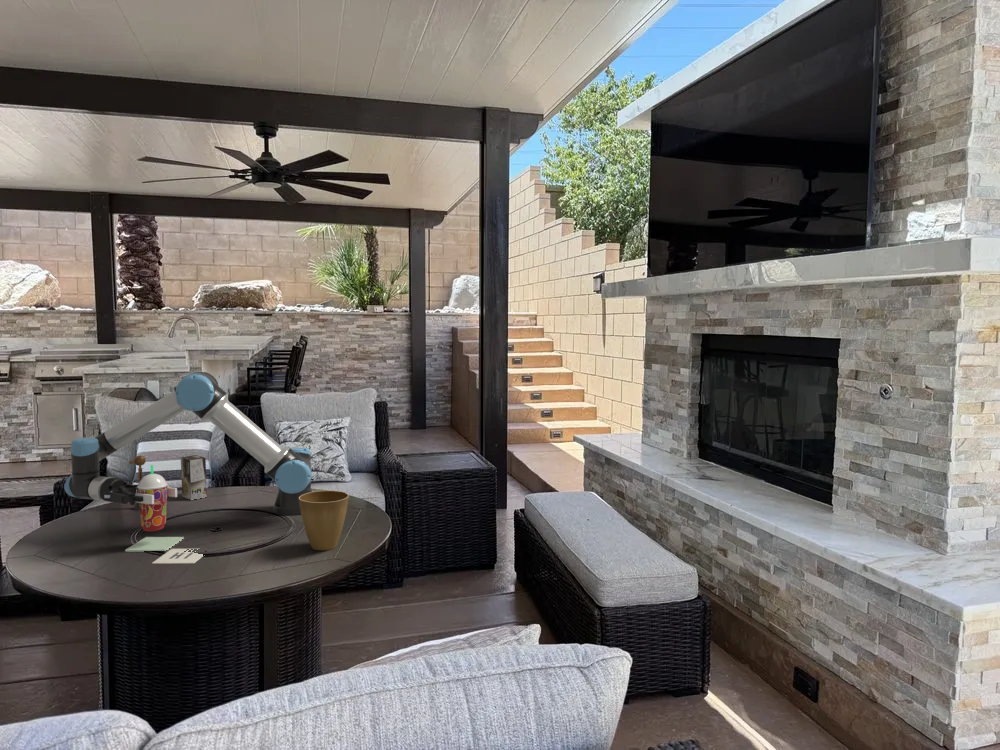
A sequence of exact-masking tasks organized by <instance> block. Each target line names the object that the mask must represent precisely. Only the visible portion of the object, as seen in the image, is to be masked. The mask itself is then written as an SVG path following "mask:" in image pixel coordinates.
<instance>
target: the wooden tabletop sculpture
mask: <svg viewBox="0 0 1000 750" xmlns="http://www.w3.org/2000/svg"><path fill="white" fill-rule="evenodd" d="M146 462H147V459H146V457H145V456H144V455H137V456H136V457H135V458H134V459H132V460H129V461H128V463H129V464H134V465H136V466H138V468H137V470H138V471H137V475H138V483H140V481H141V479H142V478H143V477H144V476H143V469H144V468H143V467H142V466H144V465H145V464H146ZM134 510H135V511H140V509H139V503H137V502H135V504H134Z"/></svg>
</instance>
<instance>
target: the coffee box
mask: <svg viewBox="0 0 1000 750" xmlns="http://www.w3.org/2000/svg"><path fill="white" fill-rule="evenodd" d="M206 460H207V459H206V457H203V456H202V455H201V456H200V455H197V454H195V455H186V456H181V457H180V473H181V475H180V476H181V492H182V493H181V496H182V498H185V499H186V500H189V499H190V500H189V501H195V500H194V499H197V500H201V499H200V498H202V499H206V498H205V497H208V496H207V464H206V462H207V461H206Z"/></svg>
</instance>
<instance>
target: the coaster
mask: <svg viewBox="0 0 1000 750" xmlns="http://www.w3.org/2000/svg"><path fill="white" fill-rule="evenodd" d="M182 539H183V540H185V538H184V536H145V537H144V538H142V539H140V540H139V541H137V542H135V543H134V544H133V545H131V546H129V547H127V548H126V549H125V550H124V552H125V553H131V552H132V553H137V552H138V553H144V551H166V550H167V551H169V550H170V549H172V548H173V547H175V544H176V545H178V544H179V543H180V542H181V541H183V540H182ZM179 541H180V542H179ZM172 546H173V547H172ZM169 548H170V549H169ZM167 551H166V552H167Z"/></svg>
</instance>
